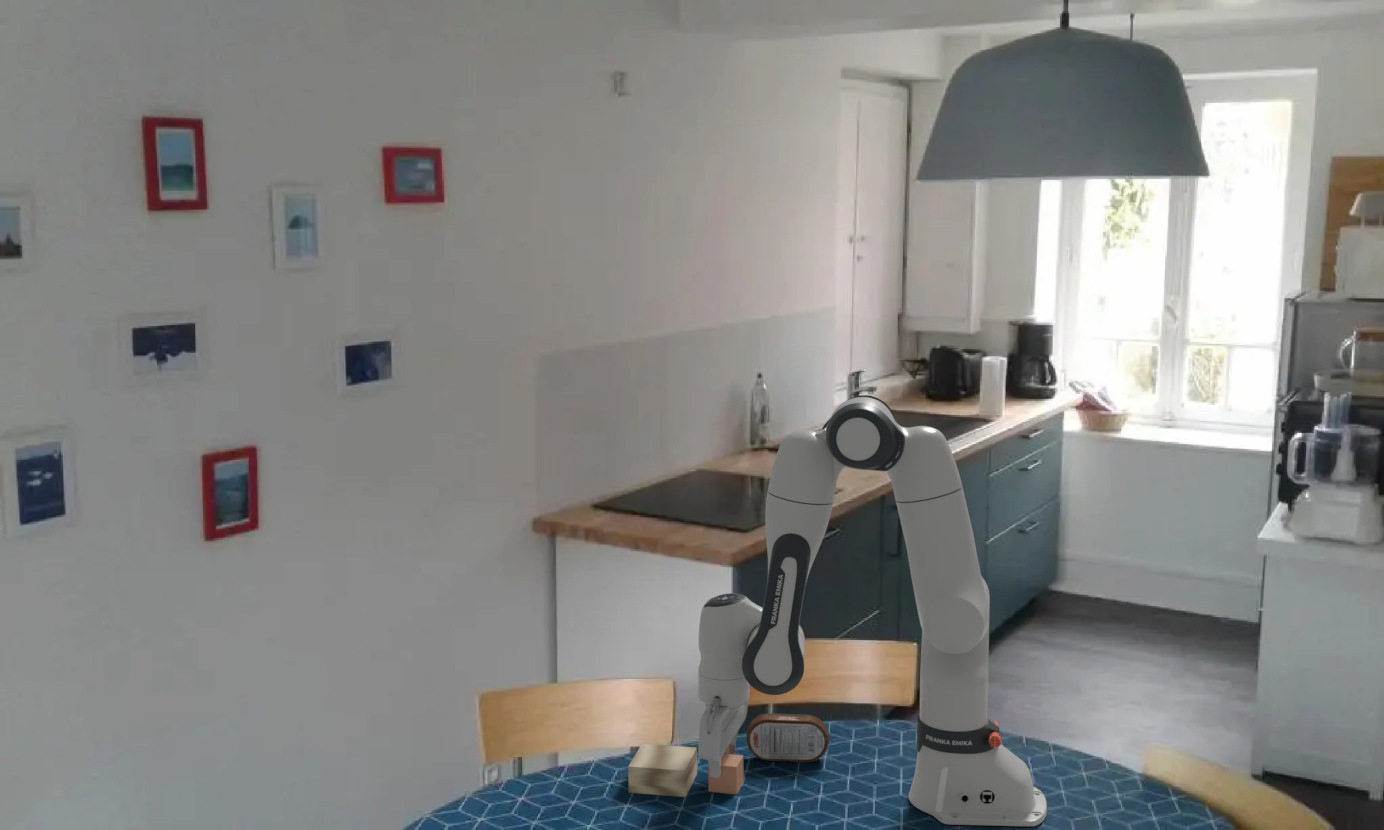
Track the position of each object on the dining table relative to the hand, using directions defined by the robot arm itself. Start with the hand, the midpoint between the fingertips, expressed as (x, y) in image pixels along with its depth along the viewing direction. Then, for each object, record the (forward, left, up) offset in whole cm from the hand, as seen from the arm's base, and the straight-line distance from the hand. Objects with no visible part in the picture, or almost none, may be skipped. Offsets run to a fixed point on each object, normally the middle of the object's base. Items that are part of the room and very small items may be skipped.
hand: (722, 764), depth 218 cm
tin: (-9, -14, -4) cm, 17 cm away
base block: (+10, +1, -4) cm, 11 cm away
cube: (-1, 0, -4) cm, 4 cm away
